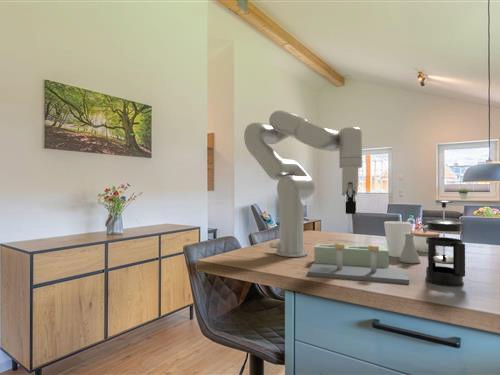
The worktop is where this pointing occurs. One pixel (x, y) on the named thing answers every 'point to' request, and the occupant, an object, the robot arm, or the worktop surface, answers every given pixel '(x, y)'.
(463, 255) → the french press
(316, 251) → the pale green slotted holder
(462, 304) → the worktop surface
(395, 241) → the foam cup
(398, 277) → the board
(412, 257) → the flask
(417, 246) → the lidded jar
